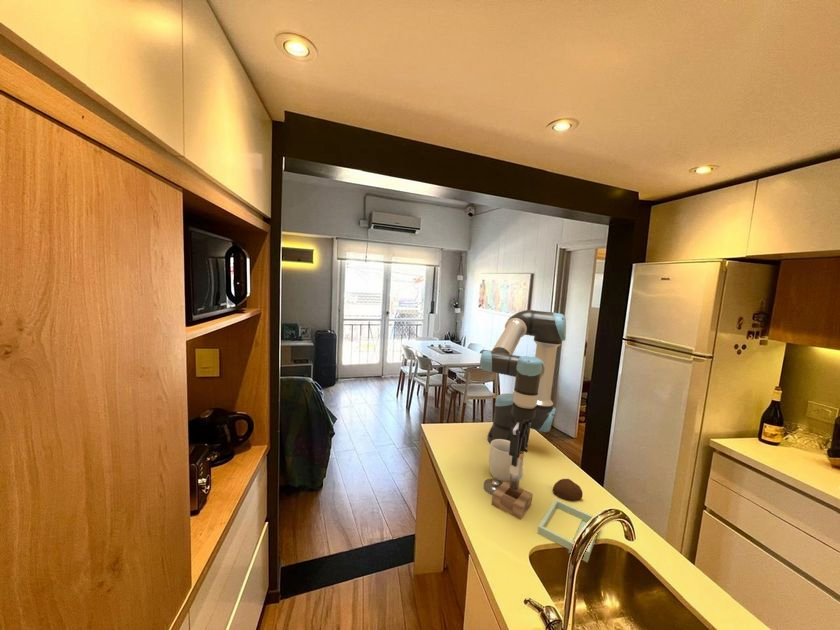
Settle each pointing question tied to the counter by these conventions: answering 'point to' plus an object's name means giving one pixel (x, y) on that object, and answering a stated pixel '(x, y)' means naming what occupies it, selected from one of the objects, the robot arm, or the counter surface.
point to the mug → (500, 460)
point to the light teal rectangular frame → (559, 538)
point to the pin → (515, 479)
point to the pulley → (491, 485)
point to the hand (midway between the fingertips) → (515, 471)
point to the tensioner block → (512, 500)
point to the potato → (567, 490)
